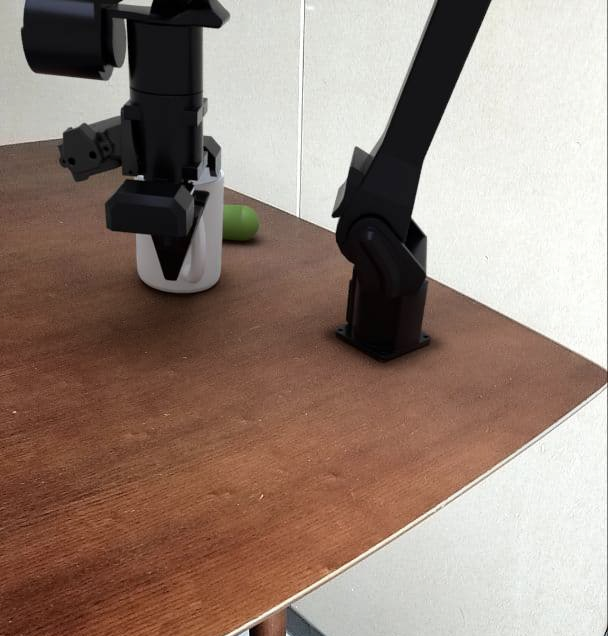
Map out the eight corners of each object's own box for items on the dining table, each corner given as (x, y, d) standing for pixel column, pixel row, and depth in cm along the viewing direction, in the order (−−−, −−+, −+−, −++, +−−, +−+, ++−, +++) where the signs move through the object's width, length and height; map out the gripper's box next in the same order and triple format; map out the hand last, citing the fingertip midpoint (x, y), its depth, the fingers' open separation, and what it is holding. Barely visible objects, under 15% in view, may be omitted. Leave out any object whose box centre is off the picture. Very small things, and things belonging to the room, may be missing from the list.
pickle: (260, 234, 97) (261, 202, 95) (257, 247, 94) (257, 213, 92) (175, 228, 97) (174, 195, 95) (169, 240, 94) (167, 206, 92)
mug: (240, 309, 82) (246, 198, 76) (154, 314, 80) (152, 200, 73) (209, 260, 91) (211, 156, 84) (130, 263, 88) (126, 157, 82)
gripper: (95, 54, 75) (108, 234, 85) (25, 105, 60) (50, 314, 70) (223, 67, 75) (221, 245, 85) (183, 120, 60) (186, 328, 70)
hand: (171, 279), depth 77 cm, fingers closed
